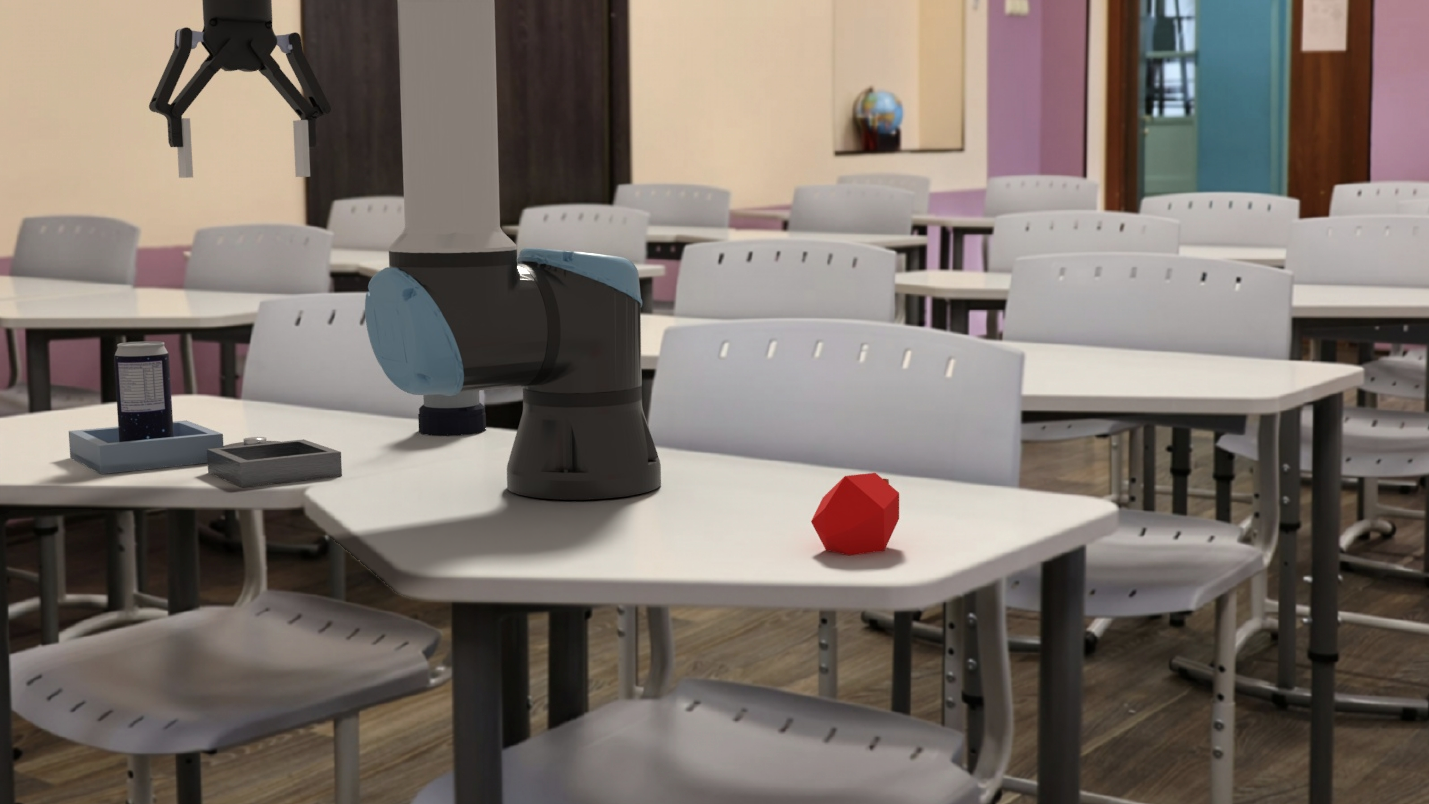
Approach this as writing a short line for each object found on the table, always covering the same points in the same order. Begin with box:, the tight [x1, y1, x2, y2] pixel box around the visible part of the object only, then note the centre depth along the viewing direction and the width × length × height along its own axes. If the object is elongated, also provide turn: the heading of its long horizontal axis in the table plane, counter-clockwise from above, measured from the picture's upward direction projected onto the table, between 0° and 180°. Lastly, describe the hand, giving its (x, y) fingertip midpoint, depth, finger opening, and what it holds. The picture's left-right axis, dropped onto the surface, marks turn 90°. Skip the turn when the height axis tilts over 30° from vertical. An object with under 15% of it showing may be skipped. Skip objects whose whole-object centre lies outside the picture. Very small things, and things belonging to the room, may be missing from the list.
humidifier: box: [417, 391, 487, 437], centre depth 196 cm, size 8×8×25 cm
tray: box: [68, 420, 224, 475], centre depth 178 cm, size 13×13×3 cm
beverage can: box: [113, 340, 174, 442], centre depth 178 cm, size 6×6×12 cm
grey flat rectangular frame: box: [207, 436, 343, 488], centre depth 171 cm, size 17×10×3 cm, turn 35°
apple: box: [810, 472, 900, 556], centre depth 131 cm, size 7×7×8 cm
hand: (245, 177), depth 186 cm, fingers open, 13 cm apart
